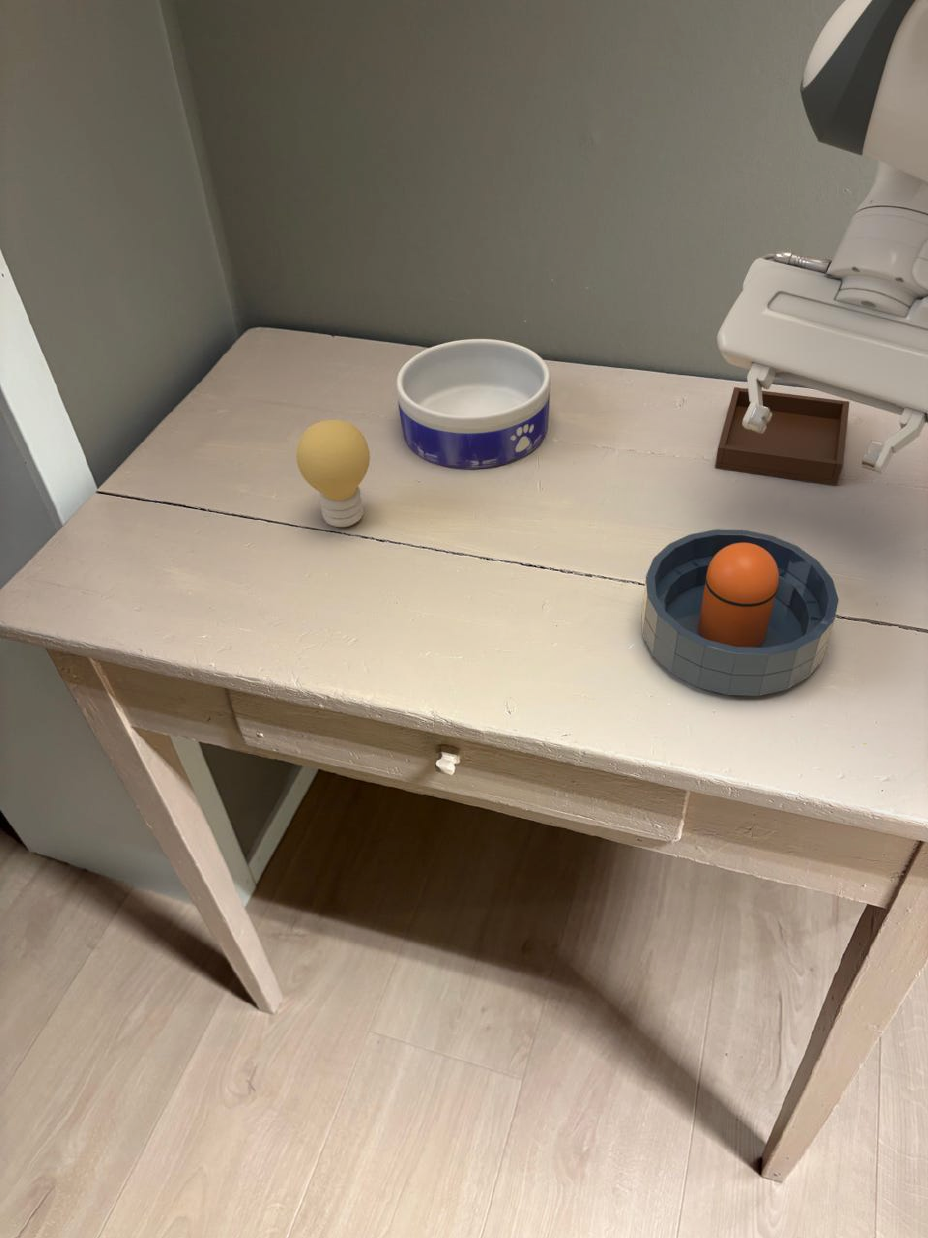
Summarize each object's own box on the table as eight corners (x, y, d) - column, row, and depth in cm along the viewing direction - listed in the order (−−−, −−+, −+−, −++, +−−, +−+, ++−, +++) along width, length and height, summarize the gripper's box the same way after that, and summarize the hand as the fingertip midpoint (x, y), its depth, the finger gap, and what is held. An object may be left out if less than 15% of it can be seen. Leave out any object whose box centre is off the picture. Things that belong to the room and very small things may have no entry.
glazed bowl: (862, 651, 74) (879, 604, 70) (724, 729, 69) (734, 682, 65) (736, 554, 83) (745, 508, 79) (605, 617, 78) (609, 571, 74)
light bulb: (310, 501, 91) (292, 409, 84) (377, 495, 91) (365, 403, 84) (308, 543, 86) (289, 450, 80) (379, 537, 87) (365, 443, 80)
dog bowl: (491, 488, 91) (489, 434, 87) (370, 439, 98) (363, 387, 94) (578, 415, 100) (580, 363, 95) (461, 375, 107) (458, 324, 102)
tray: (844, 422, 96) (849, 401, 95) (837, 486, 89) (843, 464, 87) (730, 407, 99) (734, 386, 98) (714, 467, 92) (718, 446, 90)
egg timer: (781, 635, 75) (801, 556, 69) (729, 662, 73) (746, 584, 67) (734, 597, 78) (749, 519, 72) (683, 622, 76) (695, 544, 71)
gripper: (752, 225, 73) (675, 395, 74) (1040, 290, 63) (945, 483, 65) (768, 261, 78) (696, 419, 80) (1034, 325, 69) (947, 503, 70)
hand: (810, 448), depth 72 cm, fingers open, 8 cm apart
